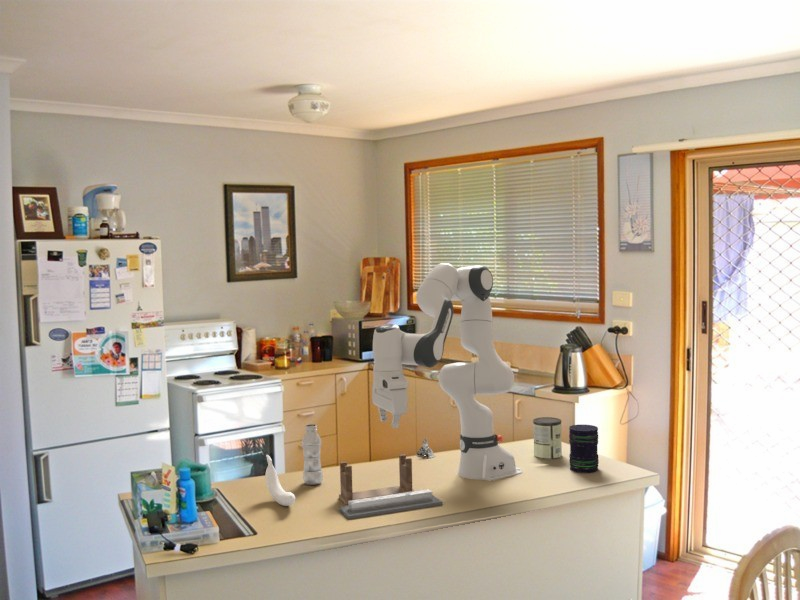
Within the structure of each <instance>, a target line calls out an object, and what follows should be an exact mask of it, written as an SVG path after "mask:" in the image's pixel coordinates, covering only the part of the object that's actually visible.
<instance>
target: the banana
mask: <svg viewBox="0 0 800 600" xmlns="http://www.w3.org/2000/svg"><path fill="white" fill-rule="evenodd" d="M265 458H266V462H267V464H268V465H267V468H266V471H265V482H266V483H265V484H266V486H267V490H268V492H269V493H270V496H271V497H272V499H273V500H274V501H275V502H276V503H277V504H279V505H281V506H284V507H288V506H291V505H293V504H294V503H295V501H296V495H295V494H294V493H293V492H291V491H286V490H285V489H284V488H283V486H282V485H281V482H280V479H279V477H278V472H277V470H276V467H274V465H273V460H272V458H271V456H270V455H269V454H266V455H265Z"/></svg>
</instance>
